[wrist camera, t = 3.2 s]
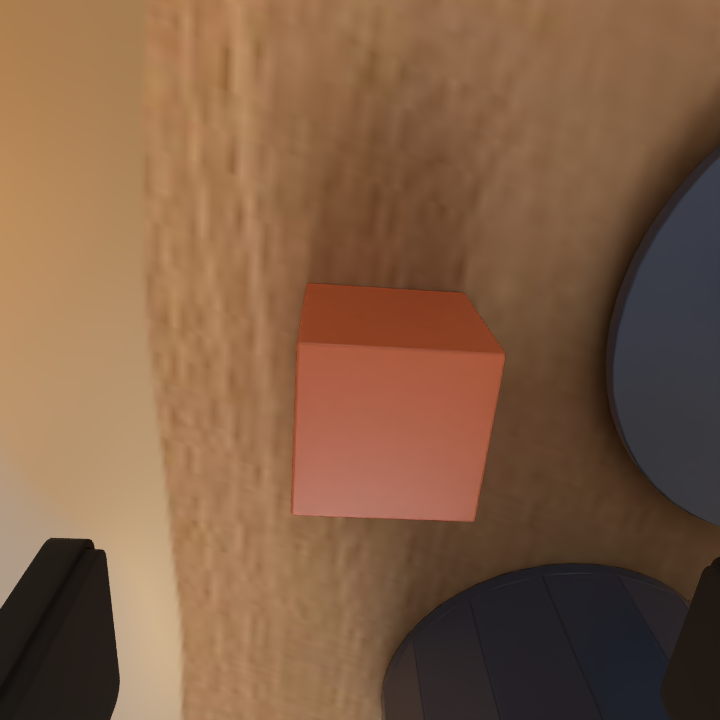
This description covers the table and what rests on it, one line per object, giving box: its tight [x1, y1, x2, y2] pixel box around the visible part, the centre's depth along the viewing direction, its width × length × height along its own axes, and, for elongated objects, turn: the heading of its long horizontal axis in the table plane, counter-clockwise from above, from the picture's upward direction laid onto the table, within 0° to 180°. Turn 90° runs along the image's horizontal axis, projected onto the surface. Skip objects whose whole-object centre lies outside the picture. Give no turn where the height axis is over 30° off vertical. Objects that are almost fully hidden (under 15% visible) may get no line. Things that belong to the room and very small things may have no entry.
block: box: [291, 283, 506, 522], centre depth 16 cm, size 4×4×4 cm
